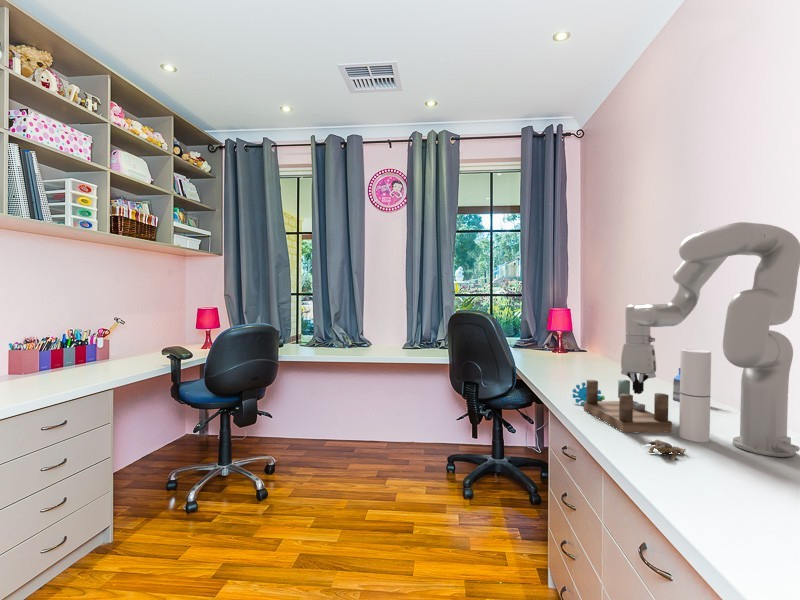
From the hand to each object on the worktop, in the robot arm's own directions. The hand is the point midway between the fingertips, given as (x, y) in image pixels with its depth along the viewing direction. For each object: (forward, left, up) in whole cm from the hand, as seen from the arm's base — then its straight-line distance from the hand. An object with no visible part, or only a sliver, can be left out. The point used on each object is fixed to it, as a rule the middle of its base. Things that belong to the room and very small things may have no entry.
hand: (638, 393), depth 146 cm
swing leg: (-3, +4, -4) cm, 7 cm away
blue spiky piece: (+11, +12, -7) cm, 18 cm away
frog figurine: (-36, +16, -7) cm, 40 cm away
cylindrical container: (-26, 0, -7) cm, 27 cm away
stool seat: (-9, +10, -7) cm, 15 cm away
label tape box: (+12, -27, -7) cm, 31 cm away
